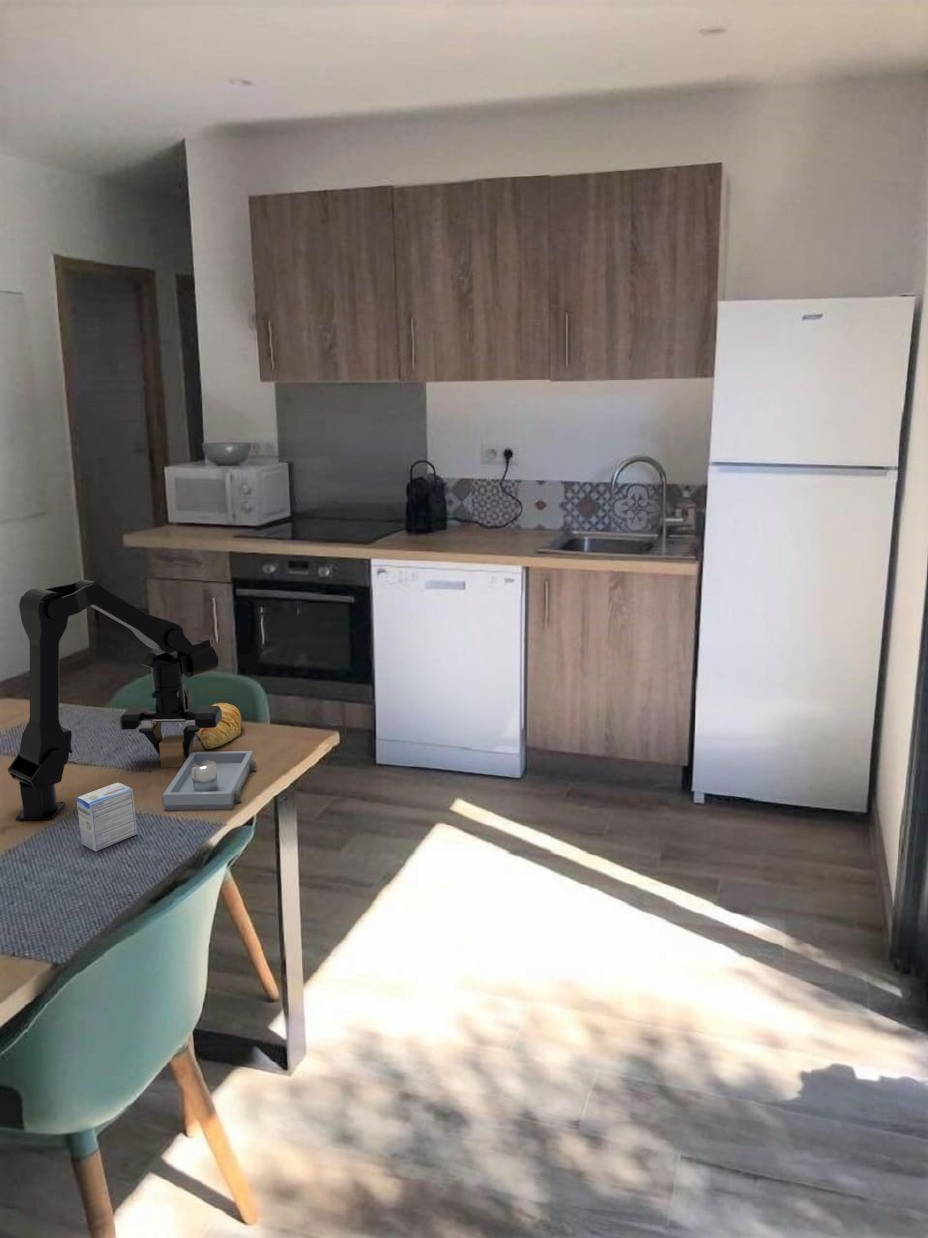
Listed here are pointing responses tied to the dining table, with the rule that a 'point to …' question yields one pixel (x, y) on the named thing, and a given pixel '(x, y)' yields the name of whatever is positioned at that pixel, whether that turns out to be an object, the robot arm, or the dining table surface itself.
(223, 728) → the croissant
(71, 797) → the dining table surface
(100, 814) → the medicine box
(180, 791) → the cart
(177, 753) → the walnut block
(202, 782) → the cylinder
